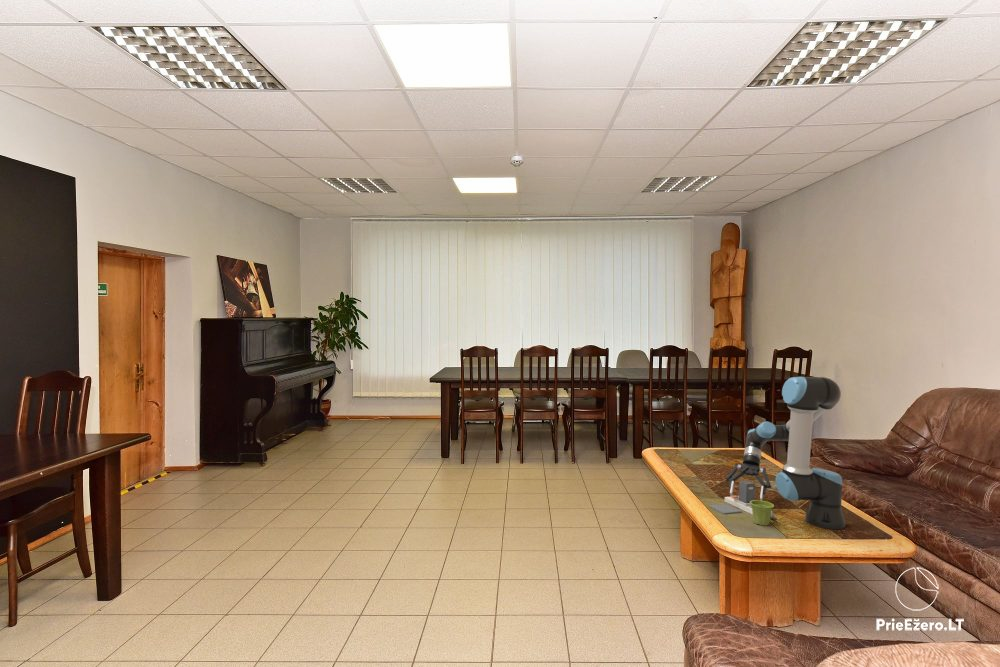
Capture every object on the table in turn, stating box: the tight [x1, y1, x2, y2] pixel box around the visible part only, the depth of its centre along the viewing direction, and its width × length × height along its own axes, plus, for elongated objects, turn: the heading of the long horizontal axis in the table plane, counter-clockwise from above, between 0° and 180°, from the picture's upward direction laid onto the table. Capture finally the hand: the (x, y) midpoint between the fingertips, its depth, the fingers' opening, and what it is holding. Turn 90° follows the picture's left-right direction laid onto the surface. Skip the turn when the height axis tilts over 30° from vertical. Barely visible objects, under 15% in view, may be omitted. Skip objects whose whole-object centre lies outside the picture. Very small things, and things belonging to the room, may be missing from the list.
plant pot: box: [750, 499, 775, 526], centre depth 237 cm, size 9×9×9 cm
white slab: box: [724, 494, 778, 521], centre depth 253 cm, size 28×8×3 cm, turn 17°
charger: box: [738, 480, 756, 503], centre depth 256 cm, size 5×5×10 cm
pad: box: [708, 503, 743, 515], centre depth 253 cm, size 10×10×1 cm
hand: (745, 497), depth 254 cm, fingers open, 12 cm apart
